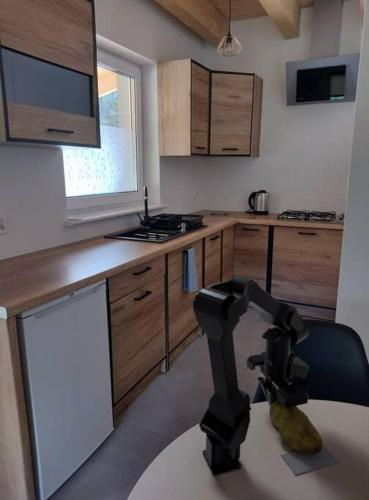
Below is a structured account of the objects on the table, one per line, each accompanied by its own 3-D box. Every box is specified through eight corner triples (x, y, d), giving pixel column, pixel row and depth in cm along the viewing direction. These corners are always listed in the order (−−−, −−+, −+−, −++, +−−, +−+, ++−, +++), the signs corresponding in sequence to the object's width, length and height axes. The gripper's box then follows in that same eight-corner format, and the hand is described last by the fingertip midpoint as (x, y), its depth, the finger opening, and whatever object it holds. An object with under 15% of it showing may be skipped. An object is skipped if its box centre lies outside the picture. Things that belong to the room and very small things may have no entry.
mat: (295, 475, 73) (295, 474, 73) (280, 455, 78) (280, 454, 78) (339, 462, 76) (339, 461, 76) (322, 444, 81) (322, 443, 81)
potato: (292, 465, 75) (294, 431, 73) (263, 426, 87) (264, 396, 86) (326, 457, 77) (329, 424, 76) (293, 420, 89) (295, 391, 88)
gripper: (331, 366, 80) (324, 426, 84) (283, 331, 97) (279, 381, 101) (289, 374, 77) (283, 436, 80) (247, 336, 94) (244, 388, 97)
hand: (272, 407), depth 90 cm, fingers closed
